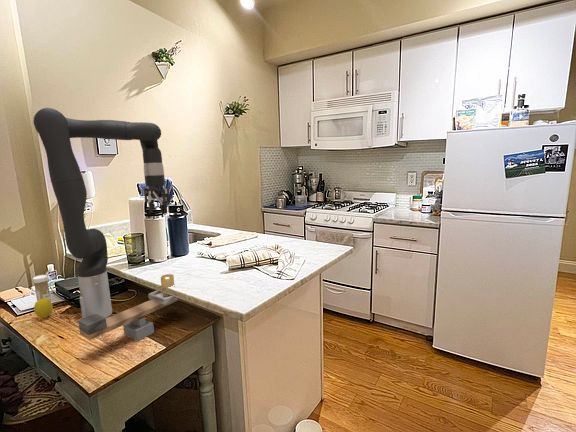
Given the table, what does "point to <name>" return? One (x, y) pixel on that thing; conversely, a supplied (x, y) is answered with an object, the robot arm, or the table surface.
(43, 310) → the lemon
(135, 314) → the seesaw
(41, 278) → the sprinkles bottle
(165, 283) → the brass weight
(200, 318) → the table surface
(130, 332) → the beam stand
